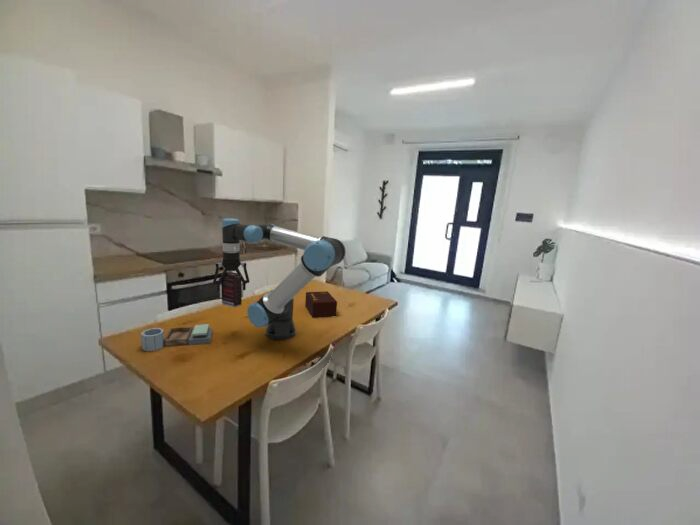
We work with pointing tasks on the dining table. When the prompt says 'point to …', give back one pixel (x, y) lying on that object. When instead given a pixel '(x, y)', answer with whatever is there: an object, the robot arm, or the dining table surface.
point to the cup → (152, 339)
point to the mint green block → (200, 330)
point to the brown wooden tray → (177, 336)
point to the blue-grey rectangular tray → (200, 338)
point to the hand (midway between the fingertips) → (231, 296)
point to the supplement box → (231, 289)
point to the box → (320, 304)
